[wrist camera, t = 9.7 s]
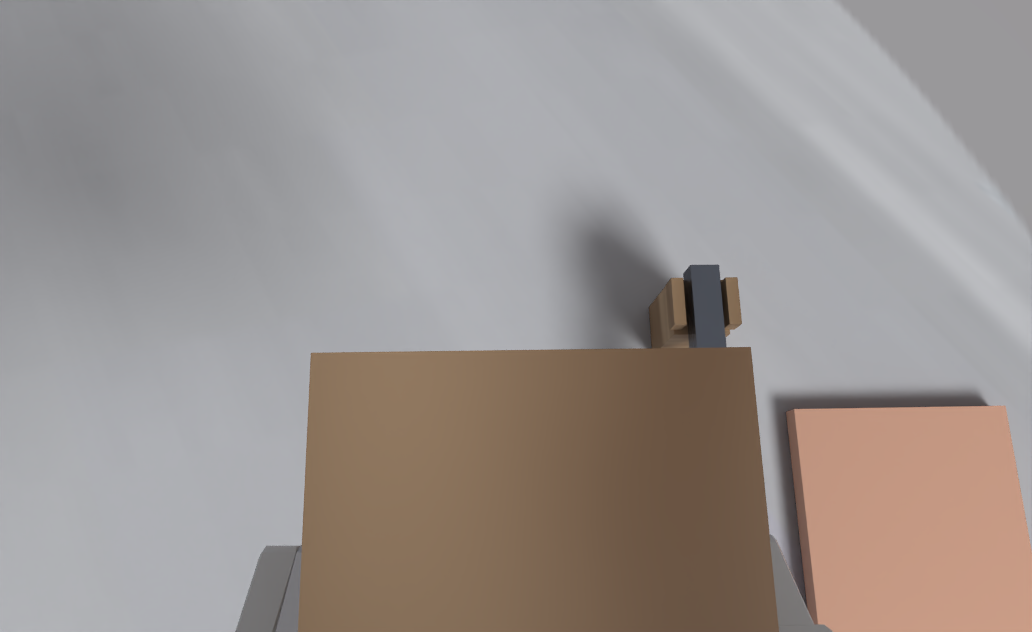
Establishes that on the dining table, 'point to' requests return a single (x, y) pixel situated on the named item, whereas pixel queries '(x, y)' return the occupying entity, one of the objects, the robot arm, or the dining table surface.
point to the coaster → (911, 519)
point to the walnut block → (535, 493)
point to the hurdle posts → (672, 317)
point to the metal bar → (704, 307)
